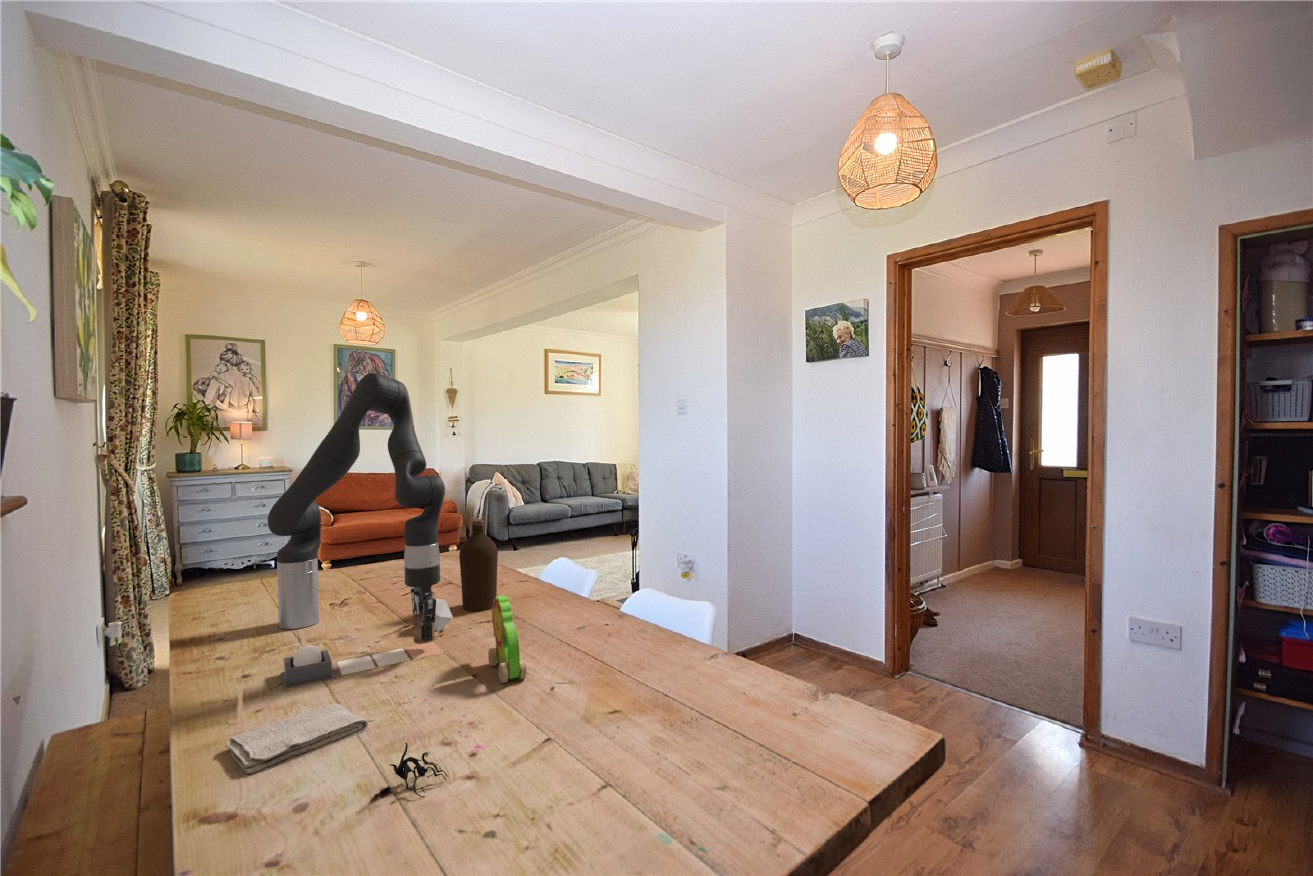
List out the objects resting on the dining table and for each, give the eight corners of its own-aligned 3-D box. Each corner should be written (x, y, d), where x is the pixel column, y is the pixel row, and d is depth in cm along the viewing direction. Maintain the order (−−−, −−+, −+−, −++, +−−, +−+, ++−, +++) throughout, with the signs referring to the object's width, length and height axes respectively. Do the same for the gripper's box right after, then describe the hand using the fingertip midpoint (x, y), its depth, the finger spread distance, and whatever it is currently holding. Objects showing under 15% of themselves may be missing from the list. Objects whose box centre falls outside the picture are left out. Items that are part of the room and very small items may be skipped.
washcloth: (222, 754, 96) (221, 735, 96) (338, 712, 110) (338, 695, 110) (247, 781, 88) (247, 761, 88) (369, 732, 102) (368, 714, 102)
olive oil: (490, 612, 166) (488, 523, 166) (454, 612, 167) (452, 523, 167) (504, 601, 177) (502, 517, 176) (469, 600, 178) (467, 517, 177)
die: (459, 630, 154) (451, 595, 159) (446, 623, 147) (438, 587, 151) (429, 643, 153) (422, 608, 158) (414, 637, 146) (407, 600, 150)
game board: (332, 665, 130) (332, 661, 130) (436, 643, 143) (436, 640, 143) (338, 681, 122) (338, 677, 122) (447, 656, 135) (447, 652, 135)
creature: (453, 774, 91) (402, 765, 90) (460, 740, 91) (409, 731, 90) (436, 806, 83) (380, 796, 83) (444, 770, 83) (388, 759, 83)
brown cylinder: (412, 639, 137) (411, 613, 137) (431, 635, 139) (431, 610, 139) (416, 645, 133) (415, 618, 133) (436, 640, 136) (435, 614, 136)
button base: (281, 677, 125) (280, 658, 125) (330, 666, 130) (329, 648, 130) (283, 692, 117) (282, 672, 117) (335, 680, 122) (334, 661, 122)
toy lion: (528, 681, 121) (527, 606, 121) (501, 687, 118) (499, 611, 118) (509, 655, 135) (508, 588, 135) (485, 659, 133) (483, 591, 132)
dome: (292, 671, 124) (292, 645, 124) (320, 665, 127) (319, 639, 127) (294, 679, 120) (293, 652, 120) (322, 673, 123) (322, 646, 123)
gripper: (447, 566, 132) (449, 643, 133) (431, 555, 144) (433, 626, 144) (412, 571, 128) (414, 650, 128) (398, 560, 140) (400, 632, 140)
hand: (424, 637), depth 136 cm, fingers closed on brown cylinder, 4 cm apart
